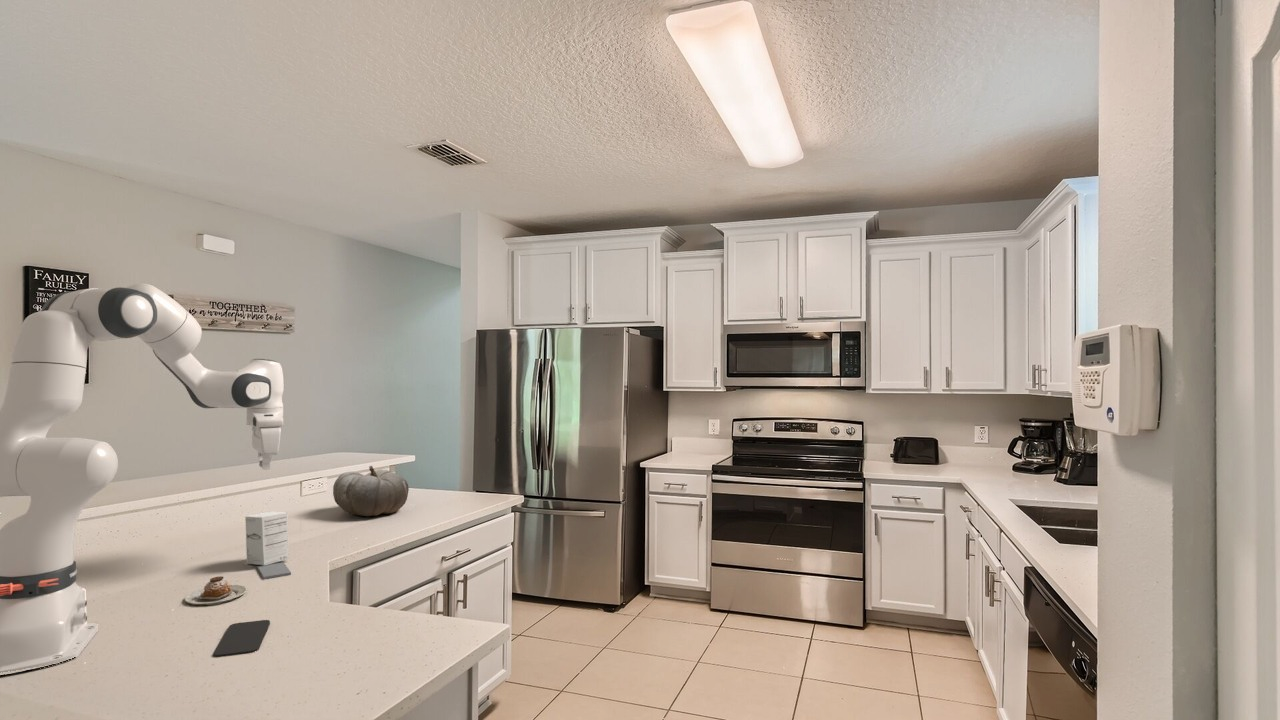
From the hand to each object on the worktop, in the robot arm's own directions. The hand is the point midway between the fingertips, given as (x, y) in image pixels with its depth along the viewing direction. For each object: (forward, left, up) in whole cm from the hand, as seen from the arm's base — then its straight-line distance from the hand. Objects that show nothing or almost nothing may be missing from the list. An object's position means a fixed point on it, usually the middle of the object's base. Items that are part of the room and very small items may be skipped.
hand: (264, 468), depth 182 cm
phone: (-58, +11, -25) cm, 64 cm away
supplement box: (-8, 0, -24) cm, 25 cm away
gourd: (+35, -39, -24) cm, 57 cm away
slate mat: (-17, 0, -24) cm, 29 cm away
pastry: (-29, +13, -25) cm, 40 cm away
